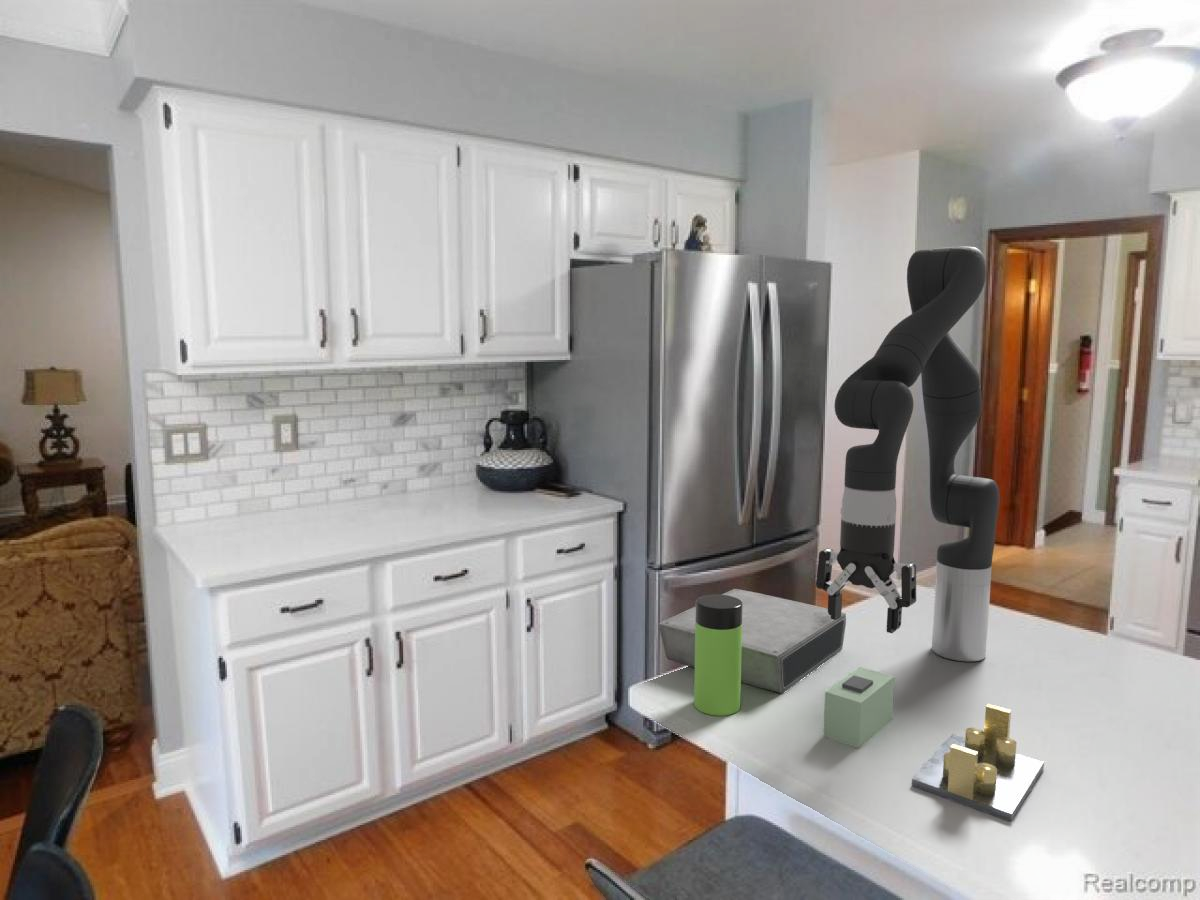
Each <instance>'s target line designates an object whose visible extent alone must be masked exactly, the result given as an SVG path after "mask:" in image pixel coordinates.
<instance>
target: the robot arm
mask: <svg viewBox="0 0 1200 900" xmlns="http://www.w3.org/2000/svg"><path fill="white" fill-rule="evenodd" d="M986 265H987V264H986V260H985V256H984V254H983V252H982V251H981V250H980V249H978V248H977V247H975V246H967V245H965V246H964V245H961V246H946V247H945V246H944V247H936V248H924V249H919V250H916V251H914V252H913V253H912V255H911V256H910V258H909V259H908V264H907V268H906V286H907V293H908V298H909V305H910V310H911V314H909V315H908V316H906V317H905V318H903V319H902V320H901V321H899V322H898V323H897V324H895V326H893V328H891V329H890V331H889V332H888V333H887V335H885V337H884V339H883V340H882V342H881V344H880V345H879V347H878V349H877V351H875V353H874V356H873V357H871V358H870V359H868V360H867V361H866V362H865V363H863V364H862V365H861V366H860V367H858V368H857V370H855V371H854V372H853V373H851V374H850V376H848V377H846V380H844V381H843V383H842V384H841V386H840V387H839V389H838V391H837V393H836V396H835V400H834V413H835V415H836V417H837V419H838V421H839V422H840V423H841V425H844V426H846V427H847V428H851V429H853V428H854V429H864V430H875V431H876V430H877V431H878V434H877V436H876V438H875V440H874V441H873V442H872V443H868V444H867V443H866V444H862V445H861V444H859V445H854V446H852V447H850V448H849V449H847V452H846V454H845V464H844V465H845V467H844V486H843V493H842V498H841V508H840V515H841V516H840V533H839V535H840V537H839V540H840V541H839V546H840V547H839V551H836V550H834V549H832V548H831V547H828V548H824V549H822V550H821V551H819V552H818V562H817V570H816V579H815V580H816V582H815V587H816V588H817V589H819V590H823V591H825V592H826V593H827V596H828V598H827V600H828V601H827V609H828V614H829V615H831V619H833V620H837V619H839V618H840V617H841V612H843V611H842V609H843V608H842V607H843V606H842V605H843V593H841V591H842V590H843V589H844V587H845V586H847V585H848V584H849V583H851V585H853V586H863V587H865V588H869V589H871V590H872V589H874V588H876V591H878V593H879V595H880V596H882V597H883V598H884V600H885V601H886V603H887V605H888V607H887V611H886V612H887V614H886V615H887V616H886V633H889V634H893V633H895V632H896V631H897V630H898V629H900V628H901V626H902V616H903V615H902V613H903V608H909V607H911V606H912V605H914V604H915V603H917V565H916V563H914V562H909V563H901V562H900V563H899V562H896V560H895V558H894V552H895V537H896V519H897V518H896V516H897V497H896V484H897V483H896V482H897V481H896V480H897V463H898V459H899V454H900V450H901V448H902V443H903V441H904V437H905V435H906V432H907V429H908V426H909V424H910V421H911V419H912V415H913V412H914V411H913V410H914V398H913V394H912V391H911V390H910V388H911V387H912V386H913V385H914V384H915V383H916V382H917V380H918V379H919V377H921V391H922V393H921V394H922V401H923V409H924V416H925V423H926V431H927V439H928V440H927V441H928V454H929V455H928V456H929V502H930V509H931V513H932V515H933V517H934V519H935V520H936V521H937V522H938V523H942V524H944V525H951V526H958V527H964V528H968V529H969V528H970V534H969V536H968V537H965V538H963V539H959V540H952V541H947V542H944V543H941V544H940V545H939V546H937V547H938V548H937V551H936V553H937V554H936V568H935V569H936V571H935V585H934V586H935V588H934V603H933V605H934V606H933V619H932V620H933V622H932V623H933V624H932V634H931V635H932V637H931V638H932V639H931V651H933V653H935V654H936V655H938V656H940V657H942V658H945V659H949V660H953V661H958V662H978V661H982V660H984V659H985V658H986V656H987V655H986V654H987V640H988V629H989V628H988V627H989V614H990V613H989V612H990V599H991V598H990V597H991V583H992V582H991V581H992V580H991V579H992V567H993V566H992V565H993V556H994V551H995V550H994V549H995V542H996V541H995V540H996V530H997V524H998V523H997V522H998V516H999V508H1000V490H999V489H1000V488H999V486H998V483H997V482H996V481H995V480H993V479H991V478H986V477H985V478H984V477H978V476H977V477H976V476H971V475H970V476H969V475H963V474H962V475H959V474H956V471H955V459H956V456H957V453H958V451H959V449H960V448H961V446H962V444H963V443H964V442H965V440H966V439H967V437H968V436H969V435H970V434H971V432H972V431H973V430H974V427H975V426H976V425H977V423H978V421H979V419H980V417H981V414H982V411H983V402H982V401H983V400H982V387H981V378H980V373H979V372H978V369H977V368H976V365H975V364H974V363H973V361H972V360H971V359H970V357H969V356H968V355H967V353H966V352H965V350H963V348H962V347H961V346H960V345H959V344H958V343H957V341H955V339H954V337H953V336H952V335H951V333H950V331H951V329H952V328H953V327H954V326H955V325H957V323H958V322H959V321H960V320H961V319H962V318H963V316H964V315H966V313H967V312H968V310H970V308H971V307H972V306H973V305H975V303H976V301H977V300H978V298H979V297H980V295H981V294H982V292H983V289H984V286H985V283H986V279H987V278H986V277H987V266H986ZM836 562H837V563H838V565H839V567H840V568H841V570H842V571H841V573H840V574H839V575H838V576H836V578H835V579H834V581H833V582H832V580H831V579H832V569H833V565H834V564H835V563H836ZM894 572H896V573H897V574H896V575H897V577H898V578H899V579H900V580H901V581H900V582H901V584H900V585H901V587H900V588H901V593H900V592H899V591H898V589H897V585H896V583H895V581H894V579H893V578H892V576H891V575H892V574H893V573H894Z"/></svg>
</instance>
